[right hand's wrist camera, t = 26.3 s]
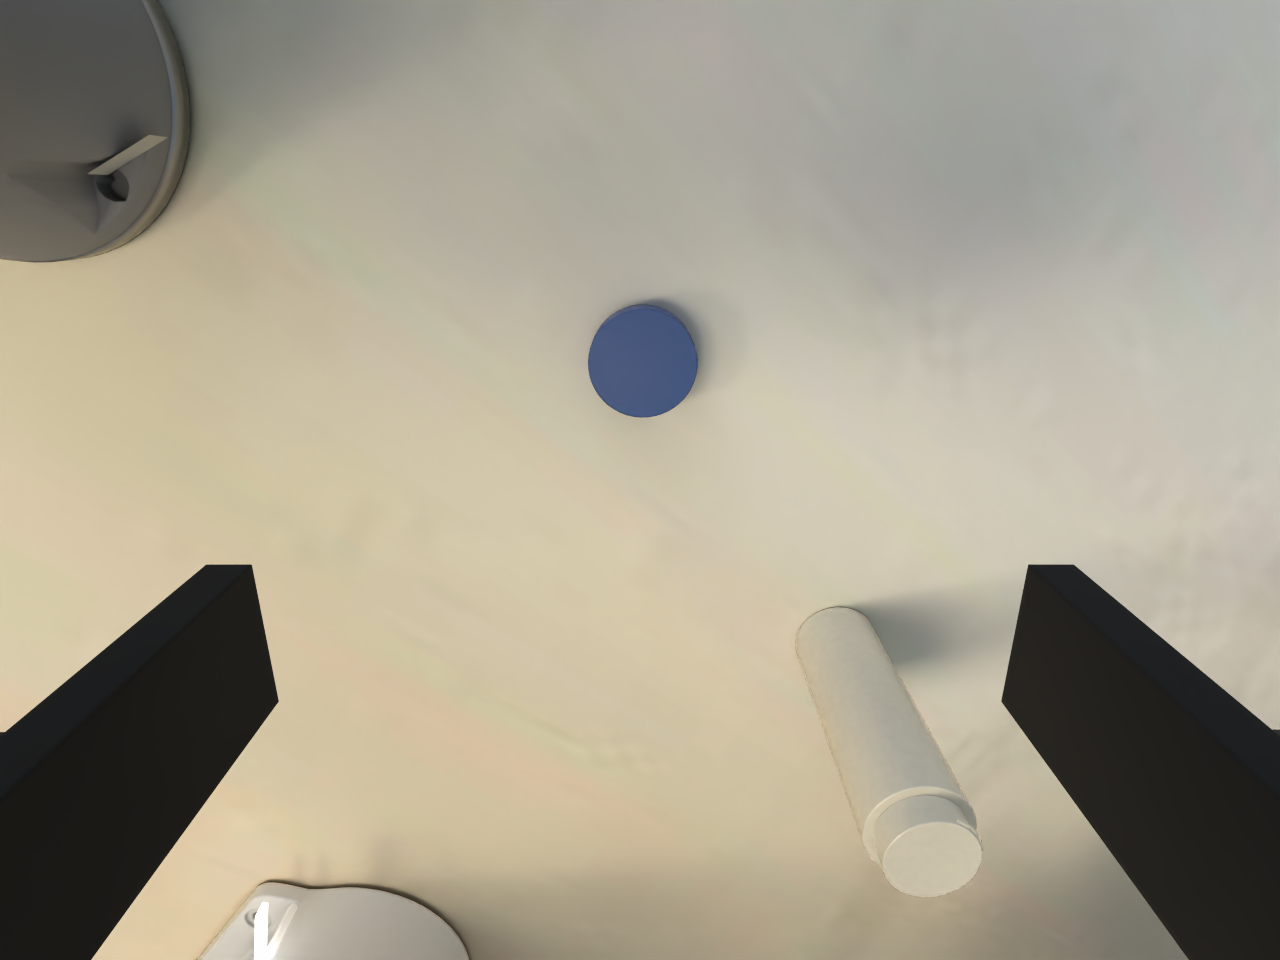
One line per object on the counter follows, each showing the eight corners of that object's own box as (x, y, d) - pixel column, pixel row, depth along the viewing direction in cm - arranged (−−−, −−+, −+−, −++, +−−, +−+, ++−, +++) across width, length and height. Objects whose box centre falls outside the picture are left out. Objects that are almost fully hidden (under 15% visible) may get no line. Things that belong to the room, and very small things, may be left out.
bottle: (844, 687, 44) (943, 921, 30) (779, 654, 43) (849, 877, 29) (890, 629, 43) (1017, 843, 28) (825, 593, 42) (921, 796, 28)
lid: (674, 289, 36) (676, 293, 35) (708, 388, 38) (711, 396, 36) (574, 326, 37) (571, 332, 35) (612, 422, 39) (611, 432, 37)
